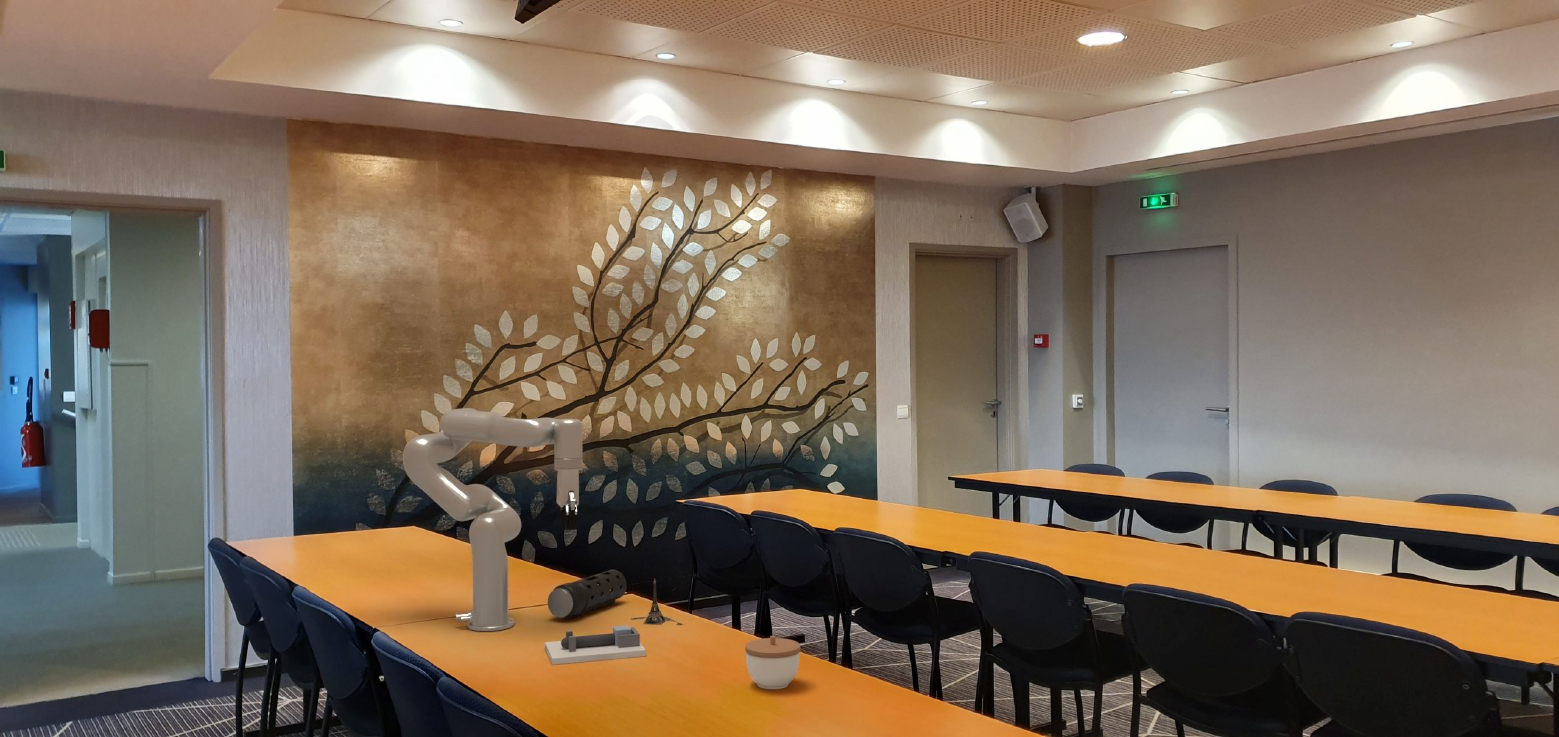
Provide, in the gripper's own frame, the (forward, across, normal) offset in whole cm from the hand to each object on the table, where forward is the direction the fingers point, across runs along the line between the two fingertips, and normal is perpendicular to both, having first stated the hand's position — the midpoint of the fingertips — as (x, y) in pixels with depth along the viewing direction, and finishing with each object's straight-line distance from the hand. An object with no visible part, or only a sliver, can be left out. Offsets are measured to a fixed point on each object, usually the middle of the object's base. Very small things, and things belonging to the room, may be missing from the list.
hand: (568, 526), depth 300 cm
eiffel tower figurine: (+29, -1, +24) cm, 38 cm away
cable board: (+28, +24, +3) cm, 37 cm away
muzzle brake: (+29, -20, +8) cm, 36 cm away
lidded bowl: (+28, +65, +37) cm, 80 cm away
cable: (+27, +24, +3) cm, 36 cm away
